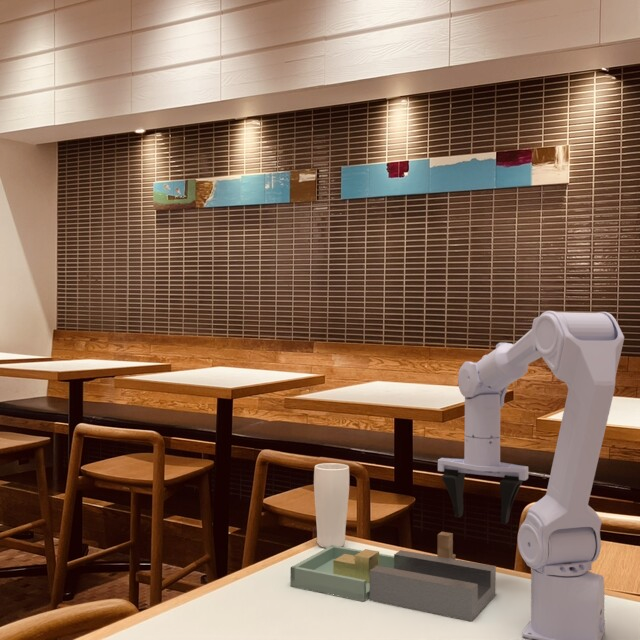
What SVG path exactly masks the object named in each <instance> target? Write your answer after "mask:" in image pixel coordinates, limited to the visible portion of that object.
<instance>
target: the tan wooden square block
mask: <svg viewBox="0 0 640 640" xmlns="http://www.w3.org/2000/svg"><path fill="white" fill-rule="evenodd" d="M333 574H337V575H342V576H347V577H352V578H354V576H355V556H354V555H349V554H343V555H342V556H340V557H338V558H336V559H335V560H333Z"/></svg>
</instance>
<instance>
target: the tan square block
mask: <svg viewBox="0 0 640 640" xmlns="http://www.w3.org/2000/svg"><path fill="white" fill-rule="evenodd" d="M379 553H380V551H378V550H374V549H373V550H372V549H366V548H365V549H363V550H362V552H360V553H358V554H356V555H355V576H354V578H357V579H363V580H366V583H370V570H371V569H373V568H374V567H376V566H379Z"/></svg>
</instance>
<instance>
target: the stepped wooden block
mask: <svg viewBox="0 0 640 640" xmlns="http://www.w3.org/2000/svg"><path fill="white" fill-rule="evenodd" d="M453 538H454V534H453V532H452V533H451V532H445V531H441V532H439V533H438V534H437V552H436V553H437V555H436V556H438V557H444V558H450V559H456V557H457V556H456V554H455V553H454V552H453V550H454V548H453V547H454V540H453Z"/></svg>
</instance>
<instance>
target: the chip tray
mask: <svg viewBox="0 0 640 640" xmlns="http://www.w3.org/2000/svg"><path fill="white" fill-rule="evenodd" d="M362 551H363V550H361V549H355V548H351V547H345V546H342V547H339V546H333V545H331V546H330V547H328V548H324V549H323V550H320V551H318V552H317V553H315V554H312V555H311V556H309V557H307V558H304V559H303V560H301V561H300V562H298V563H296V564H294V565H292V566H291V567H290V577H289V579H290V587H292V588H297V589H301V588H302V590H306V589H308V591H311V590H313V591H312V592H316V591H318V592H317V593H320V592H323V593H322V594H325V593H329V594H328V595H330V594H334V595H333V596H335V595H339V596H342V597H341V598H344V597H348V598H347V599H349V598H351V599H350V600H354V599H355V601H358V600H362V601H361V602H363V601H364V602H365V601H367V600H368V599H370V583H366V580H363V579H357V578H352V577H347V576H342V575H337V574H333V560H335V559H336V558H338V557H340V556H342V555H343V554H349V555H354V556H355V555H356V554H358V553H360V552H362ZM379 566H382V567H388V568H393V569H394V555H391V554H385V553H380V552H379ZM339 596H338V597H339ZM367 598H368V599H367ZM366 599H367V600H366Z"/></svg>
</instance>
